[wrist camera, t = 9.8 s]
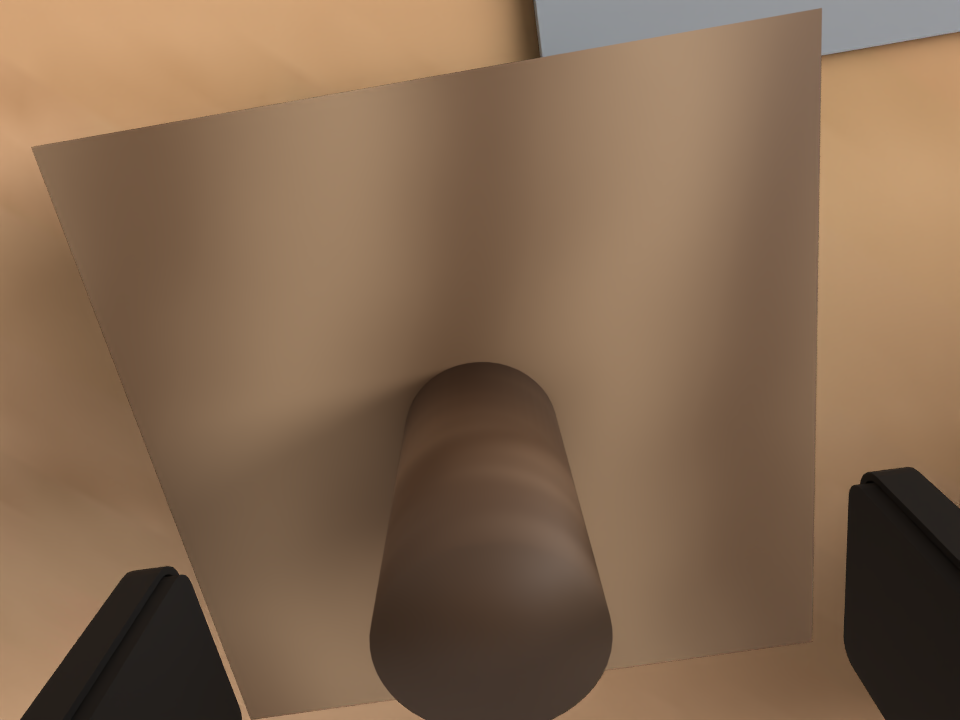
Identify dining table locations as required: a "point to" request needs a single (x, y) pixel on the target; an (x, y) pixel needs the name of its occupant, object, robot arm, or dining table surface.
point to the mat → (737, 20)
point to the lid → (478, 366)
